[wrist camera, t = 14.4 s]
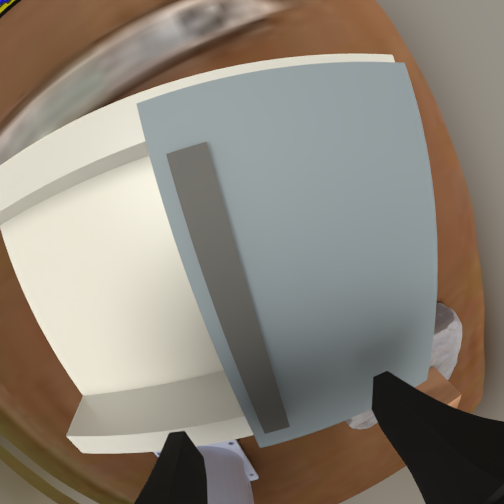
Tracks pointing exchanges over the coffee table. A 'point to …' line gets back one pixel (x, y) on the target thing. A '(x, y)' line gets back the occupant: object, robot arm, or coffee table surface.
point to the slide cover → (303, 233)
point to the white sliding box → (119, 278)
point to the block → (440, 388)
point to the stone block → (441, 355)
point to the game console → (6, 5)
